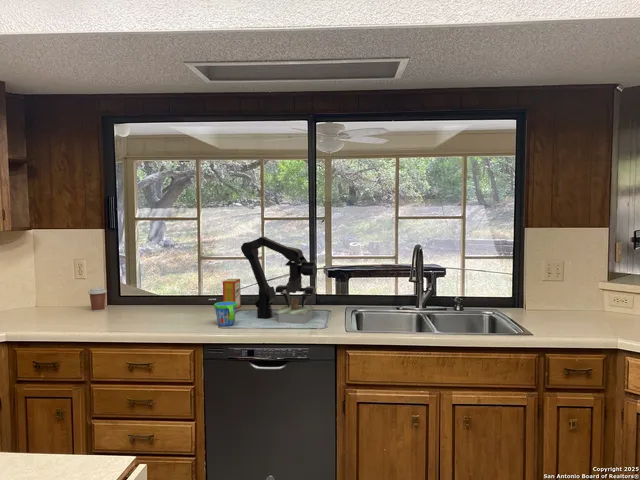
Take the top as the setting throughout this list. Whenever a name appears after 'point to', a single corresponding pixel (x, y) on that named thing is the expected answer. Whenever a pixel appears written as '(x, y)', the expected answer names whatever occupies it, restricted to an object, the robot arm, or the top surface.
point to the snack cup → (225, 312)
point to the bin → (295, 318)
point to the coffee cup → (97, 298)
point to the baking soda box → (232, 291)
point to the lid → (294, 308)
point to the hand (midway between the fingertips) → (295, 307)
